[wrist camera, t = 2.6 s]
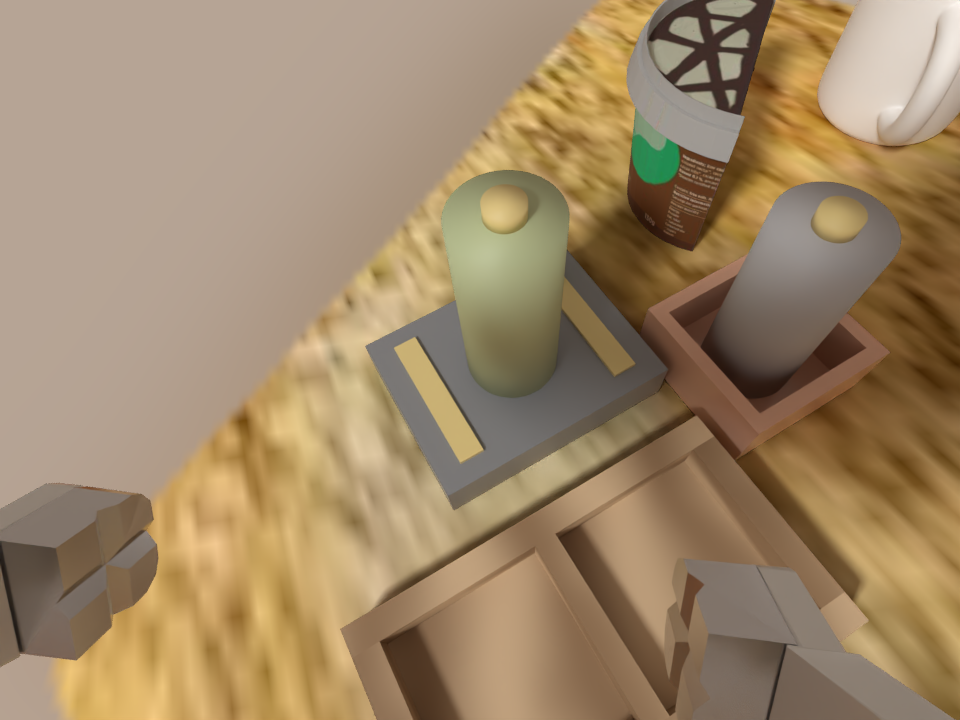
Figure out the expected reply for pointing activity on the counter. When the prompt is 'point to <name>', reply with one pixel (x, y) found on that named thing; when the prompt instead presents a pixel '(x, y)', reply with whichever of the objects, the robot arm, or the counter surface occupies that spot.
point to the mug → (895, 72)
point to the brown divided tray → (579, 596)
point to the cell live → (508, 277)
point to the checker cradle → (523, 420)
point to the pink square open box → (716, 399)
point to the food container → (688, 108)
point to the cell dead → (799, 282)
